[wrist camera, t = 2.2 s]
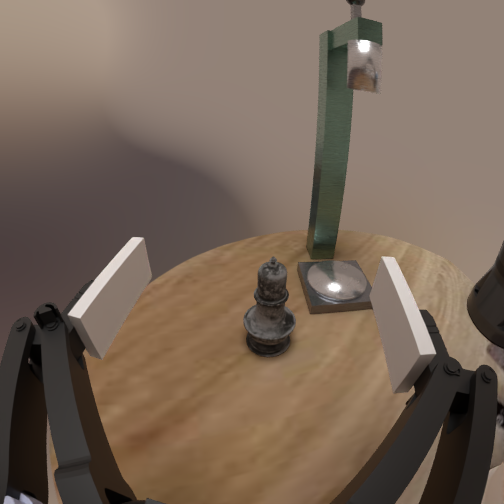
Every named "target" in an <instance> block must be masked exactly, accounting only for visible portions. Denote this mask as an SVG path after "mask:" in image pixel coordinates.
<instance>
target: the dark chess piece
mask: <svg viewBox="0 0 504 504" xmlns="http://www.w3.org/2000/svg"><path fill="white" fill-rule="evenodd" d="M276 261H277V259H276V258H275V257H272V258H271V259H270V262H266V263H264V264H262V265H261V266H260V268H259V270H258V287H257V288H256V290H255V291H254V298H255V300H256V301H257V305H254V306H252V307H251V308H250V309H248V310H247V312H246V313H245V315H244V318H243V320H244V326H245V328H246V330H247V331H248V334H247V338H246V340H247V345H248V347H249V348H250V350H251V351H252V352H254V353H255V354H257V355H260V356H264V357H274V356H278V355H280V354H282V353H284V352H285V351H286V350H287V349H288V347H289V345H290V336H289V334H290V333H291V332H292V331H293V329H294V327H295V323H296V319H295V316H294V314H293V313H292V311H291V310H290V309H288V308H287V307H285V302H286V301H287V299H288V297H289V293H288V291H287V289H286V280H287V270H286V268H285V266H284V265H283V264H281V263H279V262H276Z"/></svg>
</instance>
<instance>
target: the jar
mask: <svg viewBox="0 0 504 504" xmlns="http://www.w3.org/2000/svg"><path fill="white" fill-rule="evenodd" d="M481 504H504V461H503V462H502V464H501V465H499V466H496V467H494V468H492V469H491V470H489V475H488V479H487V483H486V488H485V492H484V495H483V499H482V502H481Z"/></svg>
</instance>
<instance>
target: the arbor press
mask: <svg viewBox="0 0 504 504" xmlns="http://www.w3.org/2000/svg"><path fill="white" fill-rule="evenodd" d="M346 1H347V2H348V3H349V4H350V5H351V20H350V21H348V22H346V23H345V24H343V25H341V26H339V27H337V28H335V29H334V30H332V31H329V30H328V31H326V32H324V33H322V34H321V35H320V56H319V60H320V61H319V96H318V117H317V118H318V119H317V135H316V136H317V137H316V151H315V165H314V176H313V188H312V200H311V209H310V219H309V228H308V237H307V245H306V248H307V250H308V252H309V255H310V258H311V259H333V256H334V251H335V245H336V239H337V233H338V227H339V221H340V214H341V208H342V201H343V194H344V186H345V178H346V169H347V161H348V152H349V142H350V130H351V118H352V102H353V90H358V91H364V92H371V93H378V94H381V78H382V23H380V22H377V21H373V20H369V19H365V18H361V6H362V5H364V3H365V0H346ZM297 271H298V274H299V278H300V281H301V284H302V288H303V291H304V294H305V298H306V301H307V305H308V308H309V311H310V314H317V313H330V312H342V311H353V310H363V309H373V307H372V303H371V300H370V297H369V295H370V292H371V289H372V287H371V285H370V283H369V282H368V280H367V278H366V276H365V275H364V273H363V271H362V270H361V268H360V266H359V265H358V263H357V261H356V260H355V261H322V262H298V268H297Z"/></svg>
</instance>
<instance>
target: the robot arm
mask: <svg viewBox="0 0 504 504" xmlns="http://www.w3.org/2000/svg"><path fill="white" fill-rule="evenodd" d="M151 278H152V275H151V270H150V265H149V261H148V256H147V251H146V246H145V242H144V238H139V237H132V238H131V239H130V241H129V242H128V243H127V244H126V245H125V246H124V247H123V248H122V249H121V251H120V252H119V253H118V254H117V255H116V256H115V257H114V259H113V260H112V261H111V262H110V263H109V264H108V265H107V266H106V268H105V269H104V270H103V271H102V273H101V274H100V275H99V276H98V277H97V278H96V279H95V281H94V280H91V281H90V282H88V283H87V284H85V285H84V286H83V287H82V289H81V290H80V291H79V293H77V294H76V296H75V298H74V299H72V301H71V302H70V303H69V305H68V306H67V307H66V308H65V310H64V311H63V312H62V313H61V314H60V312H59V310H58V308H57V306H56V305H55V304H54V303H50V302H49V303H45V304H43V305H41V306H39V307H38V308H37V310H36V311H35V312H34V318H35V320H36V321H37V323H38V325H33V323H32V322H31V320H30V319H29V318H28V317H23V318H20V319H18V320H17V321H16V322H15V323H14V324H13V326H12V328H11V331H10V334H9V337H8V340H7V344H6V347H5V350H4V354H3V357H2V361H1V365H0V504H48V476H47V454H46V433H47V414H48V419H49V425H50V430H51V435H52V440H53V444H54V449H55V453H56V457H57V461H58V465H59V466H58V469H56V470H55V473H54V476H55V481H56V484H57V487H58V491H59V494H60V496H61V499H62V502H63V504H165V503H161V502H158V501H155V500H152V499H149V498H147V499H146V500H137V499H136V497H135V495H134V493H133V491H132V490H131V488H130V487H129V485H128V484H127V483H126V482H125V480H124V479H123V477H122V475H121V473H120V471H119V468H118V466H117V464H116V461H115V459H114V456H113V454H112V451H111V448H110V446H109V443H108V440H107V437H106V435H105V432H104V429H103V426H102V423H101V419H100V416H99V413H98V410H97V406H96V403H95V399H94V395H93V392H92V388H91V384H90V379H89V375H88V371H87V366H86V361H85V357H84V355H83V351H84V350H85V348H86V350H87V351H88V353H89V355H90V356H92V357H95V358H99V359H103V357H104V356H105V354H106V352H107V350H108V348H109V347H110V345H111V343H112V341H113V340H114V338H115V336H116V335H117V333H118V331H119V329H120V328H121V326H122V324H123V323H124V321H125V319H126V318H127V316H128V314H129V313H130V311H131V310H132V308H133V306H134V305H135V303H136V301H137V300H138V298H139V297H140V295H141V293H142V292H143V290H144V289H145V287H146V286H147V284H148V282H149V281H150V279H151ZM369 297H370V300H371V303H372V307H373V310H374V314H375V318H376V321H377V325H378V329H379V333H380V337H381V341H382V345H383V349H384V353H385V357H386V362H387V366H388V371H389V375H390V380H391V385H392V390H393V393H404V392H408V391H409V390H410V389H411V388H412V386H413V385H414V388H415V393H414V394H413V395H412V397H411V398H410V399H409V400H408V401H407V402H406V405H407V406H406V407H405V409H404V410H403V412H402V414H401V415H400V417H399V418H398V420H397V421H396V423H395V424H394V426H393V427H392V429H391V430H390V432H389V433H388V435H387V436H386V438H385V439H384V440H383V442H382V443H381V445H380V446H379V447H378V449H377V450H376V451H375V453H374V454H373V455H372V457H371V458H370V459H369V460H368V462H367V463H366V464H365V465H364V467H363V468H362V469H361V470H360V471H359V473H358V474H357V475H356V476H355V477H354V478H353V480H352V481H351V482H350V483H349V484H348V485H347V486H346V487H345V489H344V490H343V491H342V492H341V493H340V494H339V495H338V496H337V497H336V498H335V499H334V500H333V501H332V502H331V503H330V504H395V503H396V501H397V500H398V498H399V497H400V496H401V494H402V493H403V491H404V490H405V489H406V487H407V486H408V484H409V483H410V481H411V480H412V478H413V476H414V475H415V473H416V472H417V470H418V468H419V467H420V465H421V463H422V462H423V460H424V458H425V457H426V455H427V453H428V451H429V449H430V448H431V446H432V444H433V442H434V440H435V438H436V436H437V434H438V432H439V430H440V428H441V426H442V424H443V428H442V432H441V436H440V440H439V444H438V448H437V452H436V455H435V459H434V462H433V466H432V469H431V472H430V475H429V478H428V481H427V484H426V487H425V489H424V492H423V495H422V497H421V500H420V502H419V504H481V502H482V499H483V495H484V492H485V488H486V483H487V479H488V475H489V470H490V464H491V459H492V453H493V446H494V438H495V429H496V416H497V375H496V373H495V371H494V370H493V369H492V368H491V367H490V366H488V365H481V366H479V368H478V369H477V370H476V371H470V370H466V369H462V366H461V365H460V363H459V362H458V361H457V360H456V359H454V358H452V357H449V355H448V352H447V350H446V347H445V345H444V342H443V340H442V337H441V335H440V334H439V330H438V328H437V327H436V323H435V321H434V319H433V317H432V316H431V315H430V313H429V312H428V311H427V310H419V309H418V306H417V304H416V302H415V300H414V297H413V295H412V293H411V291H410V289H409V287H408V284H407V282H406V280H405V278H404V276H403V274H402V272H401V270H400V268H399V266H398V264H397V262H396V260H395V258H394V257H384V256H382V257H381V260H380V264H379V267H378V270H377V274H376V277H375V280H374V283H373V286H372V289H371V292H370V295H369ZM467 306H468V311H469V314H470V316H471V318H472V320H473V322H474V323H475V325H476V326H477V328H478V329H479V330H480V331H481V332H482V333H483V334H484V335H485V336H486V337H487V338H488V339H489V340H491V341H492V342H494V343H495V344H497V345H499V346H501V347H504V241H503V244H502V247H501V249H500V251H499V254H498V256H497V259H496V261H495V263H494V265H493V266H492V267H491V268H490V269H489V271H488V272H487V273H486V274H485V275H484V276H483V277H482V278H481V279H480V280H479V281H478V282H477V283H476V285H475V286H474V287H473V289H472V291H471V293H470V295H469V297H468V301H467ZM28 358H30V362H29V363H28ZM443 422H444V423H443Z"/></svg>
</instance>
